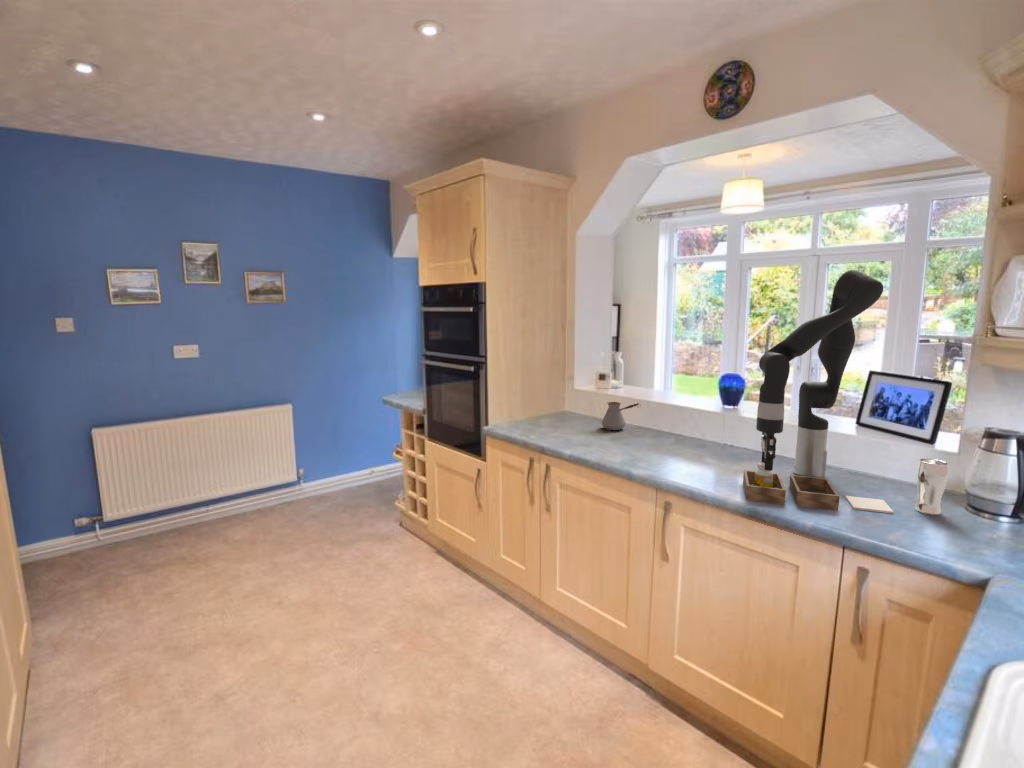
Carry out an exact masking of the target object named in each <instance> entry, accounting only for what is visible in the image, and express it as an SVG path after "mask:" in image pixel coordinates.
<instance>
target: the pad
mask: <svg viewBox="0 0 1024 768" xmlns="http://www.w3.org/2000/svg"><path fill="white" fill-rule="evenodd" d="M845 499H846V501H847V502H848V504H849V505H850V507H852V509H853V510H860V511H868V512H877V513H884V514H885V513H886V514H891V515H892V514H895V513H894V510H893V509H892V508H891V507H890V506H889V505H888V503H886V501H885V500H884V499H877V498H870V497H868V498H867V497H861V496H860V497H859V496H850V495H845Z"/></svg>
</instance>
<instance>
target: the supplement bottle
mask: <svg viewBox="0 0 1024 768" xmlns="http://www.w3.org/2000/svg"><path fill="white" fill-rule="evenodd" d="M764 467H765V463H762V462H757V469H755V470H754V471H755V478H754V485H753V486H760V487H769V488H774V487H773V473H774V472H773V470H772V471H767V470H765V469H764Z"/></svg>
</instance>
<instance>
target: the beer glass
mask: <svg viewBox="0 0 1024 768" xmlns="http://www.w3.org/2000/svg"><path fill="white" fill-rule="evenodd" d="M948 474H949V463H948V462H946V461H944V460H941V459H934V458H919V461H918V465H917V469H916V486H917V487H916V488H917V499H916V503H915V505H914V510H915V511H916V510H917V511H916V512H918V511H919V513H921V514H925V515H930V516H932V515H933V516H939V515H941V513H942V509H941V500H942V497H943V495H944V492H945V488H946V485H947V483H948Z"/></svg>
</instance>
